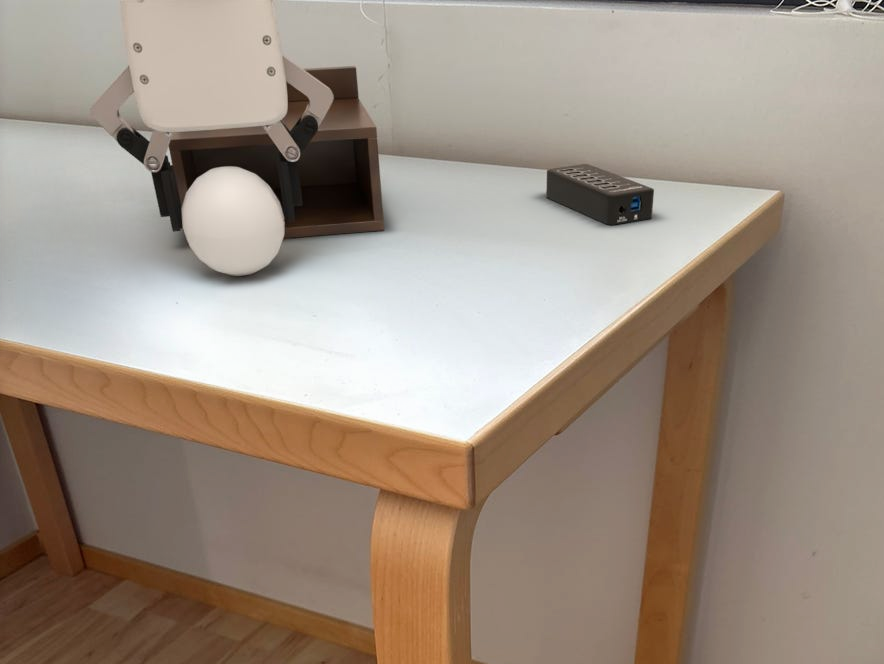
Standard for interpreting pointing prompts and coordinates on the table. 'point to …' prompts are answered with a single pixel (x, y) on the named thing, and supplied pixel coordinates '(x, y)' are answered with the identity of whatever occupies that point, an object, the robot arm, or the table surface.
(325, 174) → the shelf
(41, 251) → the table surface
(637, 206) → the multiport hub
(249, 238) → the cream oval egg shape
